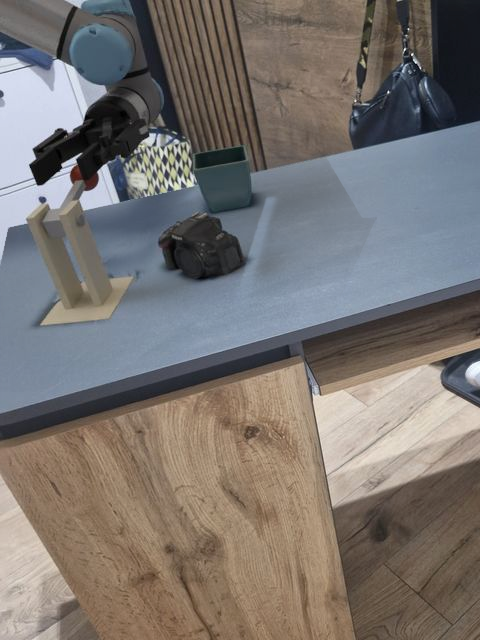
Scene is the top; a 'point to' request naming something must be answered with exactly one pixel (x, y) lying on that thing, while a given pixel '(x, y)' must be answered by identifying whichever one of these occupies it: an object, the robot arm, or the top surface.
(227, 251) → the camera
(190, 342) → the top surface
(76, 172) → the lever
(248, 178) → the flower pot
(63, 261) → the stand
